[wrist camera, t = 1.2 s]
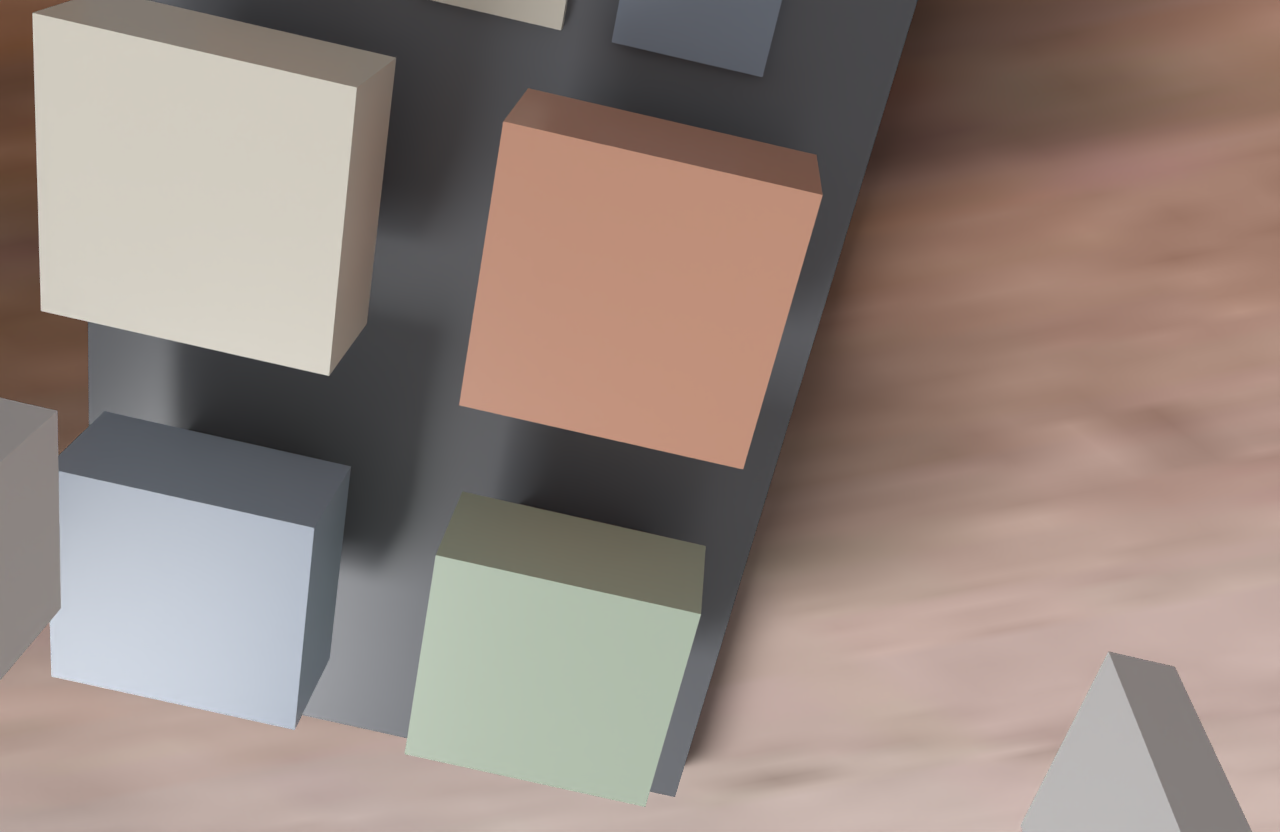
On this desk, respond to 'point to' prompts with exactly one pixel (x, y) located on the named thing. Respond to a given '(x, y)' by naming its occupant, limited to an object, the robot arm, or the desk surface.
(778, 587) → the desk surface
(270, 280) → the key cream
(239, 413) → the keypad
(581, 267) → the key terracotta
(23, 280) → the desk surface
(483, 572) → the key sage
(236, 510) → the key slate
